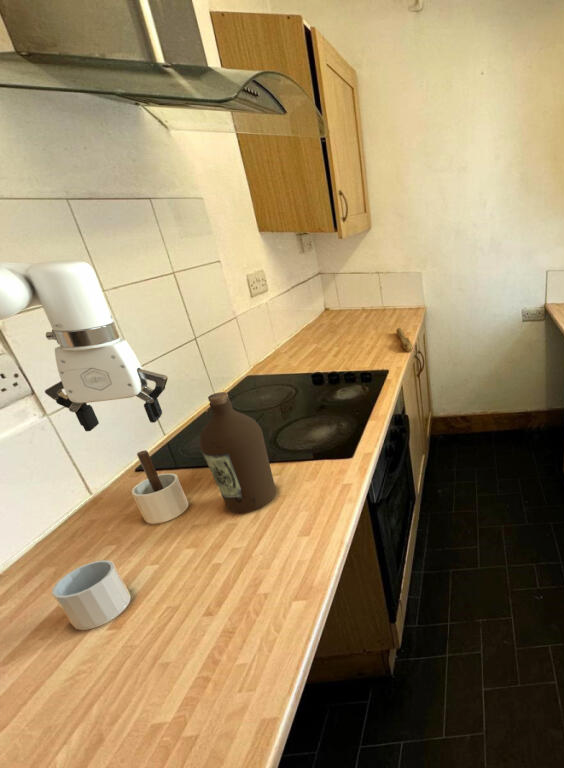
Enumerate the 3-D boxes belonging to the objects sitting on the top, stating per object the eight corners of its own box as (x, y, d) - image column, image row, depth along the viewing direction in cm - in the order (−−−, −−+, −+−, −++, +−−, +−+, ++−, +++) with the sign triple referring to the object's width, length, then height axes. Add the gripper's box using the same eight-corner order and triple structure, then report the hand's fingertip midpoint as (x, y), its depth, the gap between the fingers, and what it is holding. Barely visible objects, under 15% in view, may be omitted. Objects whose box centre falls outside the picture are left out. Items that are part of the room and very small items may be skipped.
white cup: (138, 527, 82) (124, 499, 80) (153, 504, 89) (141, 477, 86) (181, 518, 85) (170, 490, 82) (193, 496, 91) (182, 470, 88)
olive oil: (255, 480, 96) (223, 381, 86) (290, 489, 93) (261, 387, 83) (211, 509, 87) (169, 403, 77) (249, 521, 84) (210, 411, 74)
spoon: (155, 514, 85) (128, 456, 80) (158, 508, 87) (132, 451, 81) (175, 509, 86) (151, 453, 81) (178, 504, 88) (154, 448, 82)
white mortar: (63, 636, 62) (40, 603, 59) (87, 598, 68) (68, 567, 65) (119, 621, 64) (100, 589, 61) (138, 586, 70) (121, 555, 67)
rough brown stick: (402, 327, 201) (412, 345, 175) (402, 333, 202) (413, 352, 177) (395, 328, 200) (405, 346, 174) (396, 334, 201) (405, 353, 176)
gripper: (6, 347, 65) (53, 441, 72) (140, 337, 71) (172, 425, 77) (37, 334, 72) (77, 422, 78) (158, 326, 77) (186, 408, 84)
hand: (125, 423), depth 78 cm, fingers open, 9 cm apart
